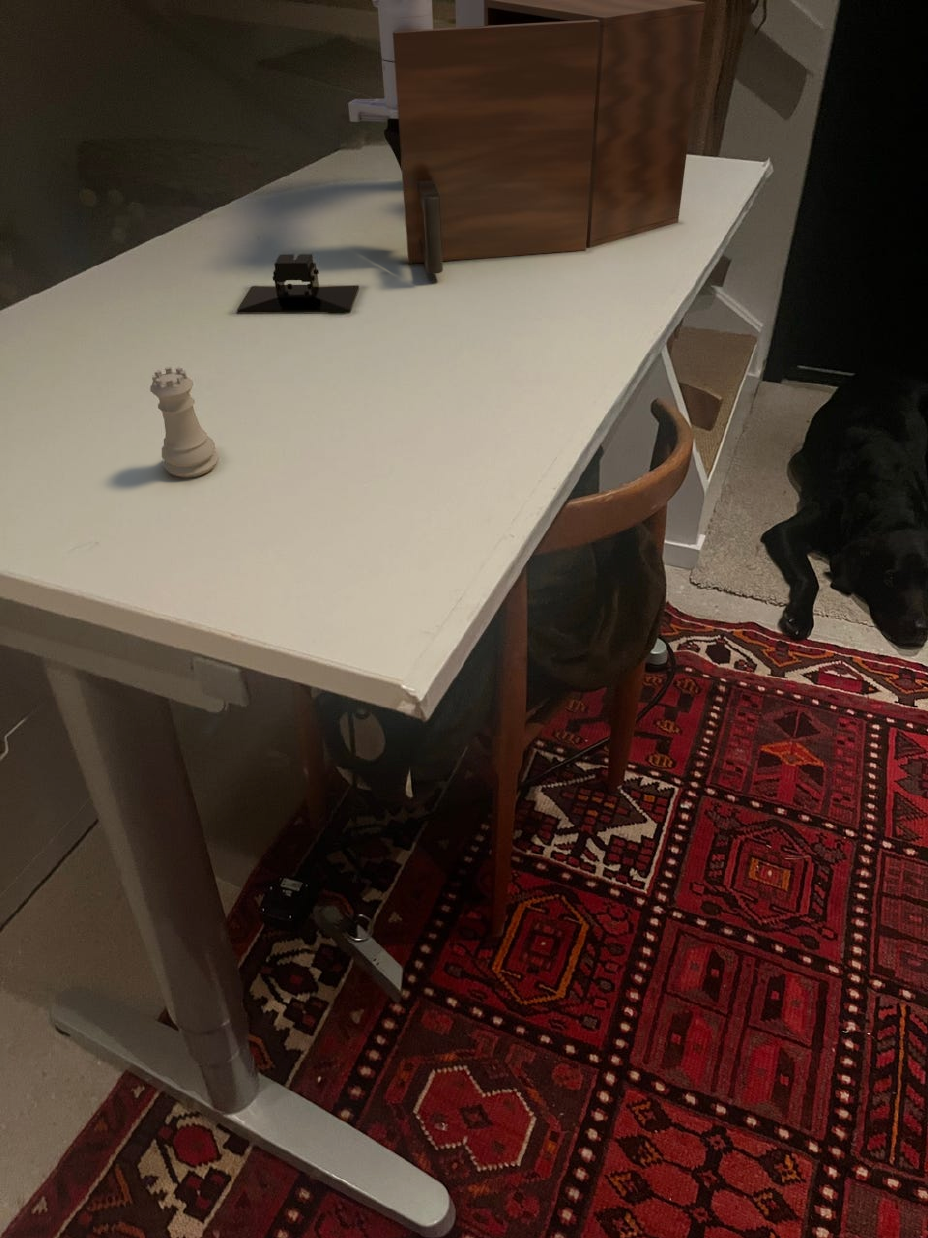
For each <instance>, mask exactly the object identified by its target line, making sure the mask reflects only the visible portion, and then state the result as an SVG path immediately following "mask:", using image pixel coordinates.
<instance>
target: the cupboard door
mask: <svg viewBox="0 0 928 1238" xmlns="http://www.w3.org/2000/svg"><path fill="white" fill-rule="evenodd" d="M599 25H600V21H598V20H582V21H564V22H546V23H529V24H511V25H493V26H475V27H457V28H456V27H442V28H441V27H440V28H439V27H438V28H433V29H421V30H403V31H393V32H392V33H393V48H394V63H395V77H396V92H397V107H398V122H399V136H400V151H401V166H402V171H401V180H402V193H403V207H404V223H405V224H404V225H405V238H406V252H407V253H406V254H407V263H408V265H414V264H415V265H416V264H424V267H425V270H426V272H427V273H429V274H433V275H435V274H436V275H437V274H441V273H442V272H443V271H444V262H452V261H465V260H478V259H491V258H502V257H503V258H504V257H514V256H528V255H541V254H553V253H565V252H567V253H568V252H578V251H586V250H587V247H586V240H587V223H588V207H589V190H590V174H591V157H592V140H593V124H594V107H595V91H596V74H597V58H598V41H599Z"/></svg>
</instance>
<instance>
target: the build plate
mask: <svg viewBox="0 0 928 1238" xmlns="http://www.w3.org/2000/svg"><path fill="white" fill-rule="evenodd" d="M273 265H274V270H273V273H272V274H273V276H272V281H273V282H274V285H252V286H250V288H249V290H248V291H247V293H246V295H245V296H244V298H243V299H242V301H241V302H240V304H239V306H238V308H237V309H236V311H237V313H238V314H328V315H345V314H349V313H351V312H352V309H353V307H354V304H355V301H356V299H357V296H358V293H359V291H360V285H356V284H355V285H348V284H346V285H343V284H341V285H339V284H337V285H320V283H319V273H320V272H319V269H318V267H317V262H314V256H313V253H299V254H298V255H297V256H296V258H295V254H294V253H285V254H284V253H281V254H279V255H278V256H277V258H276V260H275V262H274V264H273ZM287 281H301V282H302V283H307V284H292V283H287V284H285V283H286V282H287Z"/></svg>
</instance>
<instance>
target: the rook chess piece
mask: <svg viewBox="0 0 928 1238" xmlns="http://www.w3.org/2000/svg"><path fill="white" fill-rule="evenodd" d="M164 370H165V373H163V372H162V370H160V369H157V370H156V371H154V372H153V373H154V374H152V375H151V379H152V383H151V384H150V387H149V391H150V392H151V393H152V394H153V395H154V396H155V397H157V398H158V400H159V403H157V408H158V410H160V411H161V413H162V417H163V421H164V429H165V431H164V432H165V437H164V438H163V445H162V447H161V458H162V460H163V462H162V464H163V468H164V469H165V470H166V471H167V472H168V473H169V474H171V475H173V476H174V477H178V478H195V477H200V476H202V475H205V474H207V473H209V472H210V471H212V470H213V469H214V467H215V466H216V464H217V462H218V461H219V459H220V458H219V457H220V456H219V452H217V451H216V443H215V442H214V440H213V439H212V438H211V437H210V436H209V435H208V433H207V432H206V431H205V430H204V429H203V428H202V426H201V425H200V422H199V419H198V417H197V413H196V412H195V411H196V410H195V407H194V405H195V399H194V398H193V397H192V396H191V390H192V388H193V387H194V381H193V379H191V378H190V377H188V376H187V373H186V370H184V369H183V367H178V366H176V368H175V372H173V368H172V366H170V367H169V366H168V367H164Z"/></svg>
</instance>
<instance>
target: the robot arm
mask: <svg viewBox="0 0 928 1238" xmlns="http://www.w3.org/2000/svg"><path fill="white" fill-rule="evenodd" d="M371 1H372V4H373V7H375V8H377V18H378V31H379V33H378V34H379V44H380V45H379V47H380V57H381V67H382V69H381V70H382V82H383V84H382V85H383V96H384V98H355V99H353V100H351V101H349V102H347V106H348V117H349V122H352V123H359V122H361V121H362V122H377V123H378V122H381V123H387V125H386V129H384V130H383V135H384V139H385V140H386V142H387V144H388V145H389V147H390V149H391V151H392V152H393V154H394V156H395V159H396V161H397V163H398V165H399V166H398V167H399V168H400V171H401V172H402V166H401V151H400V136H399V122H398V107H397V92H396V77H395V63H394V48H393V33H392V32H393V31H403V30H421V29H434V19H433V17H434V16H433V15H434V14H433V0H371ZM455 24H456V25H455V28H457V27H475V26H484V0H455Z"/></svg>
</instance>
